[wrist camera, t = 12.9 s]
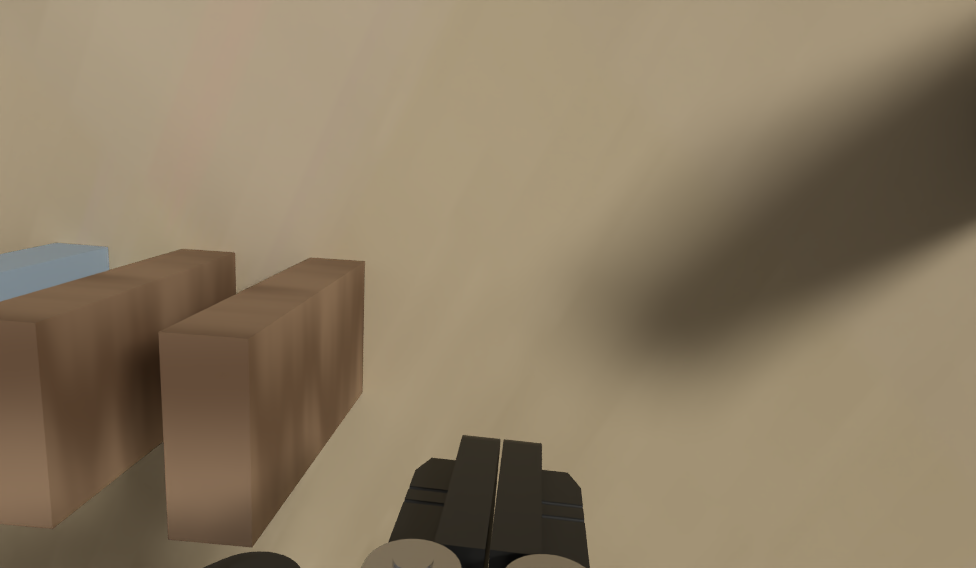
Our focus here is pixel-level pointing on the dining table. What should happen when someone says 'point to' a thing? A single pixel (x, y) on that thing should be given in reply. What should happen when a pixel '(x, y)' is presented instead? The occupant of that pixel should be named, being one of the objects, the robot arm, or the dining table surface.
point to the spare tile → (48, 267)
